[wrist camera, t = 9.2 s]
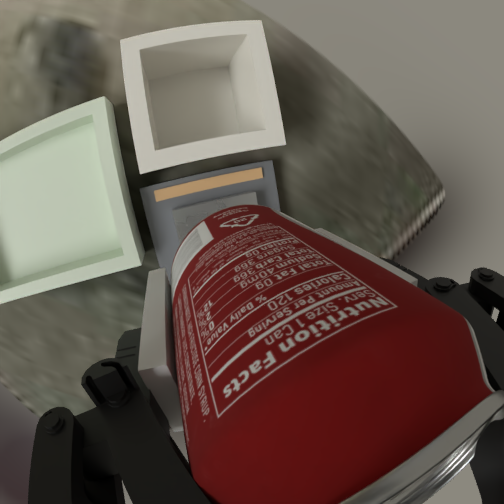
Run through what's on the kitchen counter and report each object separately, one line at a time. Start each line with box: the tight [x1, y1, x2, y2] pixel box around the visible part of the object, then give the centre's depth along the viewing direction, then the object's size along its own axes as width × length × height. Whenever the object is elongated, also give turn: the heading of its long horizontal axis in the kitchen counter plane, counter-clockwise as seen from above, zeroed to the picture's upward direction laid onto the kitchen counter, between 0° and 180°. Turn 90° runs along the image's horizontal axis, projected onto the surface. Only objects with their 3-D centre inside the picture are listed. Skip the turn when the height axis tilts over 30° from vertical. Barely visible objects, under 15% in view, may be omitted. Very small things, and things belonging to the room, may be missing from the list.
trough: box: [0, 96, 145, 304], centre depth 17 cm, size 12×16×3 cm
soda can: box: [171, 204, 504, 504], centre depth 8 cm, size 7×7×12 cm
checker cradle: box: [140, 160, 280, 285], centre depth 22 cm, size 10×10×1 cm
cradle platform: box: [172, 191, 258, 243], centre depth 21 cm, size 6×6×1 cm
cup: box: [120, 20, 286, 174], centre depth 16 cm, size 8×8×7 cm
